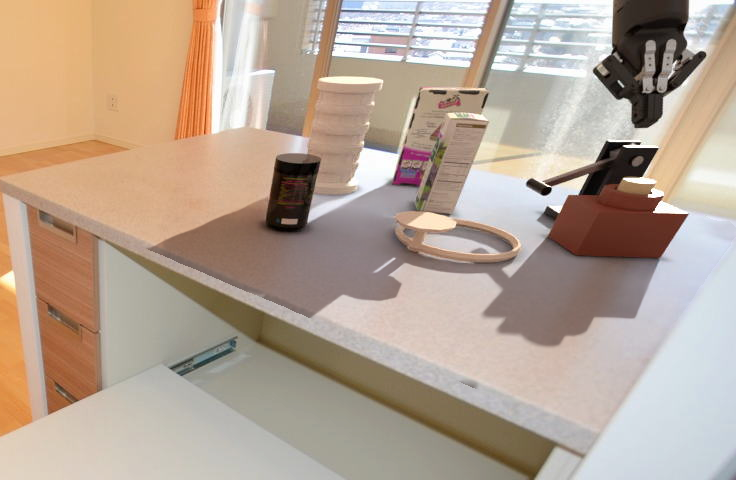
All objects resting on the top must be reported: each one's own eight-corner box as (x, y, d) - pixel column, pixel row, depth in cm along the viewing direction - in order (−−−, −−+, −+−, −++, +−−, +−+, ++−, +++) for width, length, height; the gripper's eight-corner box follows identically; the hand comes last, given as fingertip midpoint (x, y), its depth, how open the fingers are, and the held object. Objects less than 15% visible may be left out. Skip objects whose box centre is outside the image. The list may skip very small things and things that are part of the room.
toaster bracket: (575, 232, 85) (619, 150, 77) (543, 212, 92) (580, 136, 85) (638, 234, 84) (689, 151, 76) (601, 214, 91) (644, 137, 84)
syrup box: (413, 202, 98) (443, 111, 89) (449, 205, 97) (484, 113, 88) (416, 211, 94) (448, 117, 85) (454, 214, 92) (491, 119, 83)
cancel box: (625, 238, 82) (658, 183, 77) (660, 258, 76) (698, 199, 71) (547, 236, 84) (574, 181, 79) (575, 255, 77) (607, 197, 73)
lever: (540, 200, 85) (541, 185, 83) (525, 191, 89) (525, 177, 87) (646, 164, 80) (648, 148, 79) (625, 156, 84) (627, 141, 83)
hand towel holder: (563, 223, 76) (453, 243, 70) (547, 253, 78) (440, 275, 73) (460, 191, 88) (360, 206, 83) (450, 218, 91) (352, 235, 85)
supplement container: (300, 219, 92) (314, 152, 85) (311, 233, 86) (327, 163, 80) (260, 219, 92) (271, 153, 86) (268, 233, 87) (281, 163, 80)
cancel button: (637, 190, 76) (645, 176, 75) (654, 197, 74) (662, 183, 72) (609, 189, 77) (617, 176, 76) (625, 196, 74) (633, 183, 73)
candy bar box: (452, 183, 107) (488, 87, 97) (454, 190, 104) (491, 91, 93) (390, 178, 111) (419, 85, 101) (390, 185, 107) (420, 88, 97)
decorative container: (369, 190, 105) (400, 81, 93) (322, 197, 101) (348, 85, 90) (328, 176, 113) (352, 74, 102) (283, 182, 110) (302, 78, 99)
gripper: (677, 20, 78) (674, 138, 78) (577, 25, 80) (573, 141, 80) (731, -23, 71) (728, 107, 70) (619, -17, 72) (616, 110, 72)
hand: (646, 125), depth 75 cm, fingers closed
